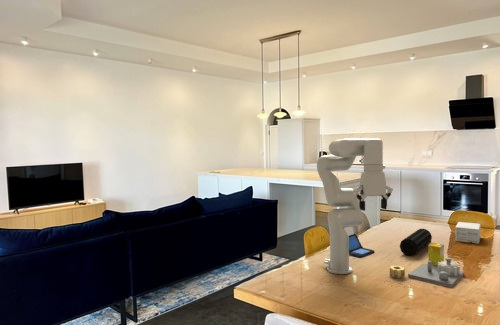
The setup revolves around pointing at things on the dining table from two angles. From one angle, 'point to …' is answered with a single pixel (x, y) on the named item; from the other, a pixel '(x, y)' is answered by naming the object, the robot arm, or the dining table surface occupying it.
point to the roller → (415, 242)
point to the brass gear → (397, 272)
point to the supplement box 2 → (467, 232)
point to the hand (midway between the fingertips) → (373, 209)
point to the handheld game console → (357, 247)
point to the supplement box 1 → (435, 253)
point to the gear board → (438, 273)
